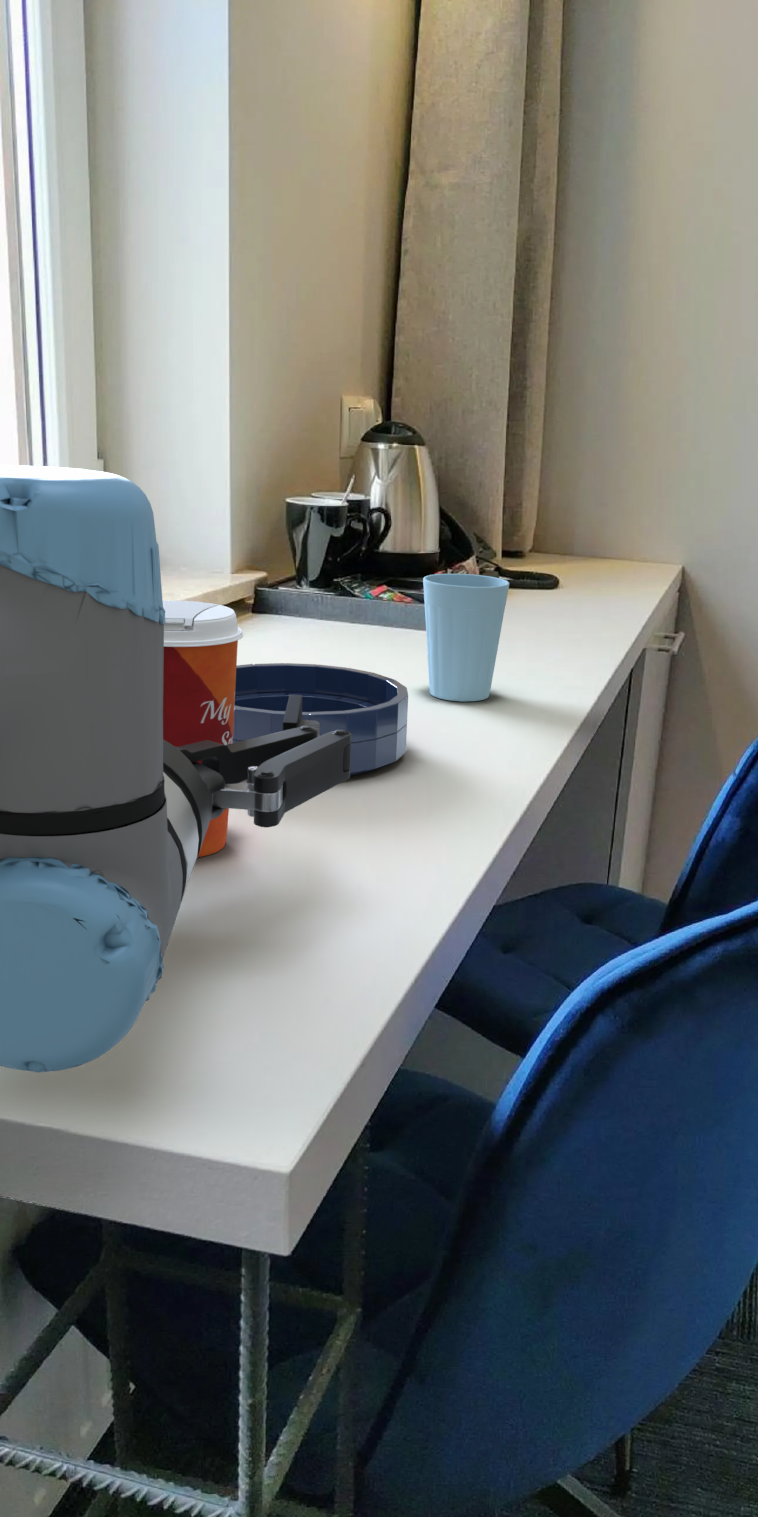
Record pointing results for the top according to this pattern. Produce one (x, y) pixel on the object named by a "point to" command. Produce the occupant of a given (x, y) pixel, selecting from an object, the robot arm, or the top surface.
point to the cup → (463, 633)
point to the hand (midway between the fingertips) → (179, 712)
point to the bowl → (325, 707)
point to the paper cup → (200, 684)
